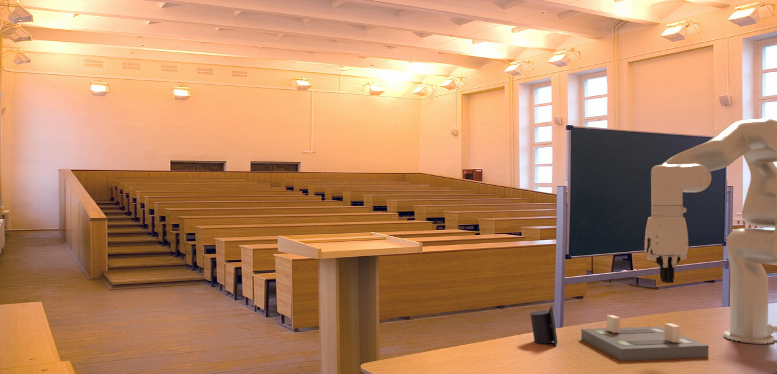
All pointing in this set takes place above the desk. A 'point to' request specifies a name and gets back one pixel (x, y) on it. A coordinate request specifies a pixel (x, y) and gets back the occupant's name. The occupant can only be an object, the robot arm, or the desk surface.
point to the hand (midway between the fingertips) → (667, 282)
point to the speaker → (544, 326)
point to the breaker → (613, 323)
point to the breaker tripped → (672, 332)
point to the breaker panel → (643, 344)
